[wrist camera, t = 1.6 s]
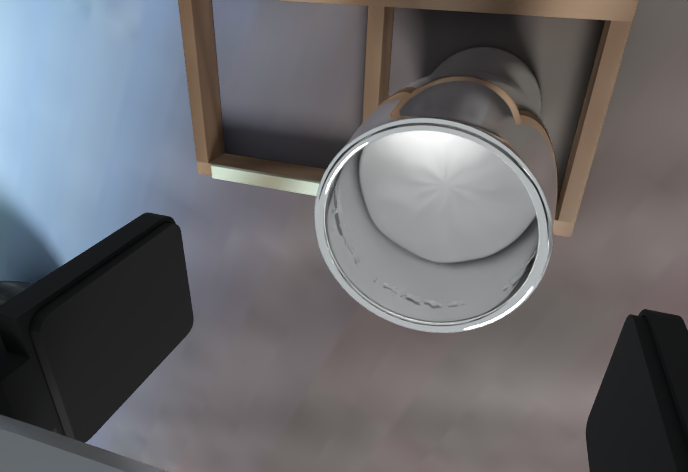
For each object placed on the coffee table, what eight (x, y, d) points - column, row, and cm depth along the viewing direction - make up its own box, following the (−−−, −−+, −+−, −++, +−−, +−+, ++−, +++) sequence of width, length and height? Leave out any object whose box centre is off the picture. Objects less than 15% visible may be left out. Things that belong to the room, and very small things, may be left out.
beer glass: (388, 116, 28) (266, 236, 16) (473, 5, 24) (404, 47, 12) (482, 195, 28) (438, 376, 16) (582, 98, 24) (628, 237, 12)
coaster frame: (631, -3, 22) (639, 0, 20) (569, 220, 27) (571, 239, 25) (196, -24, 28) (171, -23, 26) (215, 163, 33) (195, 174, 31)
